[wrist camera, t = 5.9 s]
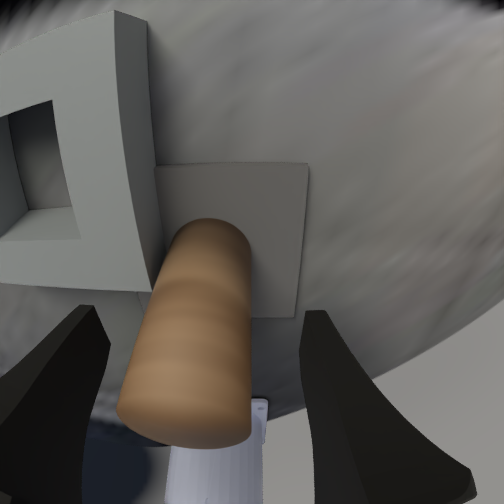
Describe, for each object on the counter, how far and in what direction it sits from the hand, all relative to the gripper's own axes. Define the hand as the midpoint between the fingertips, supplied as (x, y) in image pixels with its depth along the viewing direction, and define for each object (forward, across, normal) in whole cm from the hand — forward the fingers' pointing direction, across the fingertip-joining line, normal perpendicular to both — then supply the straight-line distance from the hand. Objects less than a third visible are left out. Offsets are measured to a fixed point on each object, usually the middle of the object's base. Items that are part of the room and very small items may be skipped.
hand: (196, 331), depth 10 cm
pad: (+5, 0, 0) cm, 5 cm away
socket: (+5, +7, -5) cm, 10 cm away
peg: (+4, 0, 0) cm, 4 cm away
